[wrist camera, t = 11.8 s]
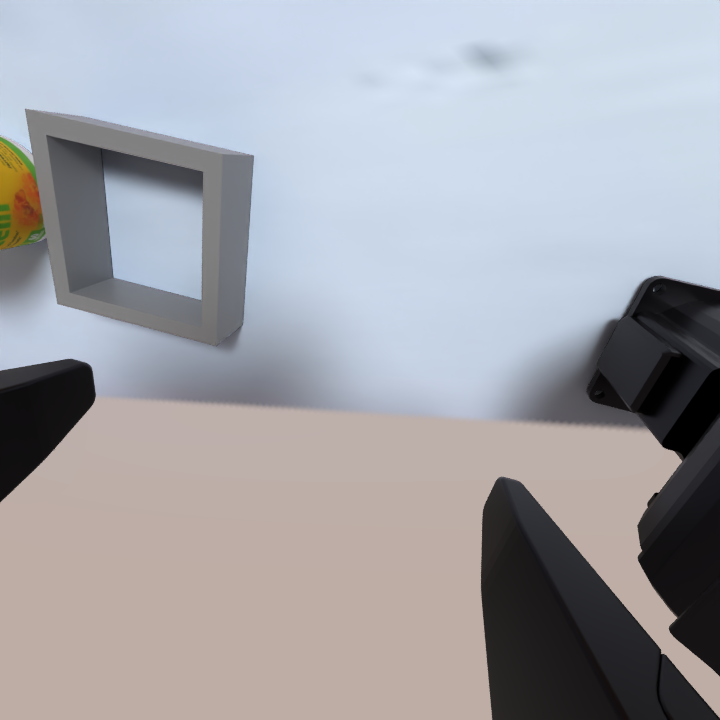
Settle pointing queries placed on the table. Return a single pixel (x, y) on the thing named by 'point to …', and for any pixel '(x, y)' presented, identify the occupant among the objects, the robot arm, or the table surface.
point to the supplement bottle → (18, 197)
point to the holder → (91, 236)
